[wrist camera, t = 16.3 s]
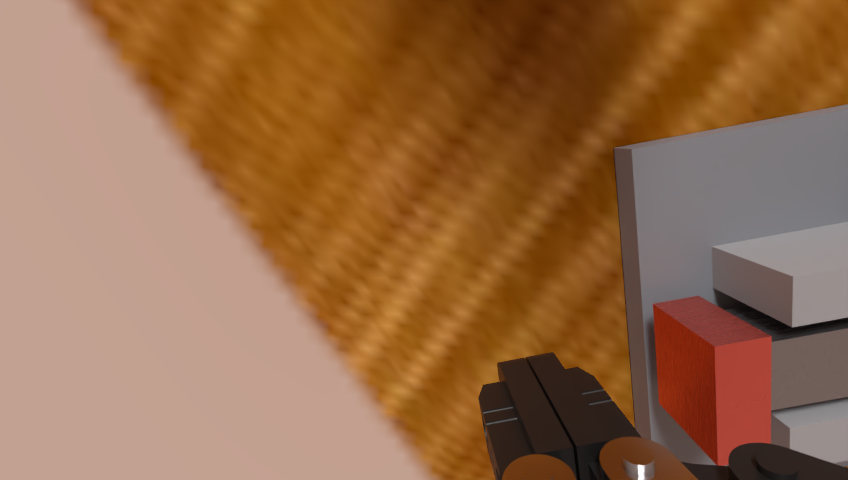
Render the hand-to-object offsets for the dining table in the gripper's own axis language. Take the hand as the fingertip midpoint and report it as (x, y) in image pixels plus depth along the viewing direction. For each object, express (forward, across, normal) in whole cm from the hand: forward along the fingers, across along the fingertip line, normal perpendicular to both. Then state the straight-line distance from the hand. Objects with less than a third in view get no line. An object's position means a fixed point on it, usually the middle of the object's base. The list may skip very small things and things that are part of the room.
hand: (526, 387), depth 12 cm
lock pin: (0, -8, 0) cm, 8 cm away
